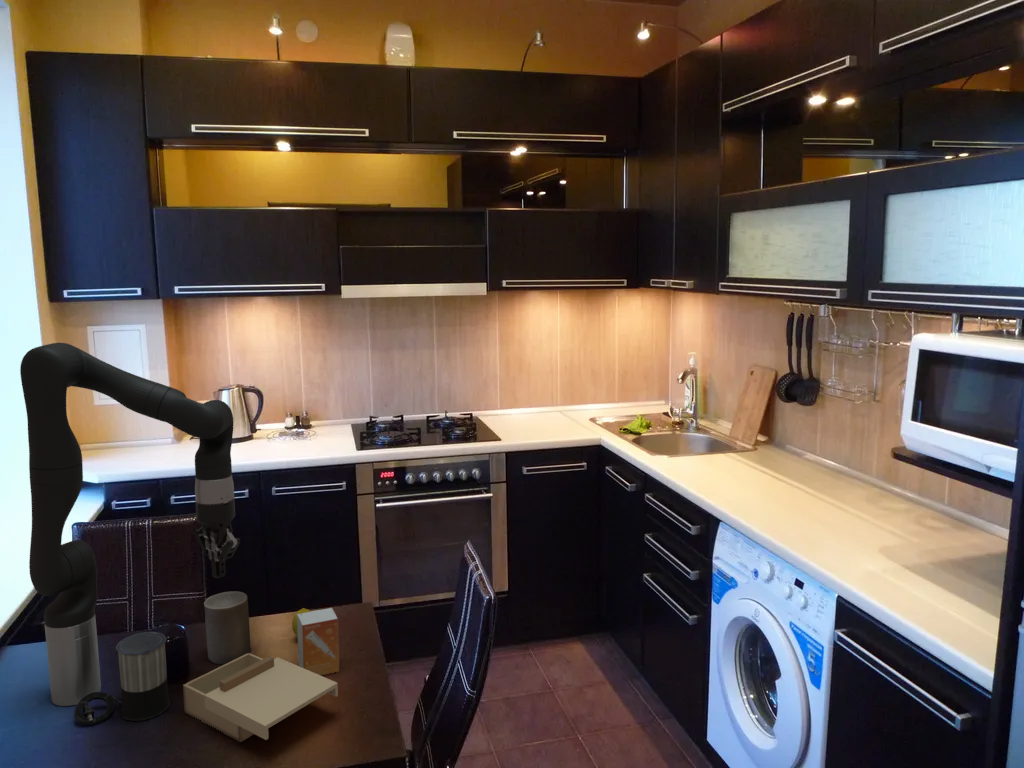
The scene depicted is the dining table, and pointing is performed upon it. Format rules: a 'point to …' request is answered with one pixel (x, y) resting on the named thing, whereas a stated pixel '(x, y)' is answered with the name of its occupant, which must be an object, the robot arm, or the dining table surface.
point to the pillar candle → (227, 626)
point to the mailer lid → (266, 694)
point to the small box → (318, 641)
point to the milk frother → (135, 681)
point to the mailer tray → (208, 683)
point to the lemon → (294, 622)
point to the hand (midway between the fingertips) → (219, 576)
